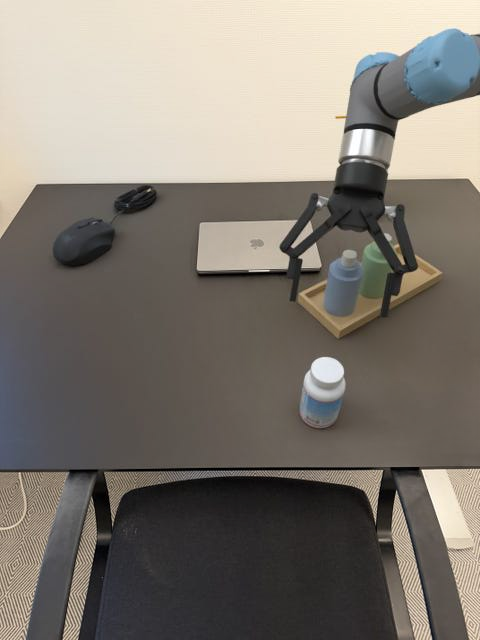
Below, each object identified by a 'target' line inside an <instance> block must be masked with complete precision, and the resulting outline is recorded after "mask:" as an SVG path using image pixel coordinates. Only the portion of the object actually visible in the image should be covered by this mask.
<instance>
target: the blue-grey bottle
mask: <svg viewBox="0 0 480 640" xmlns="http://www.w3.org/2000/svg"><path fill="white" fill-rule="evenodd" d="M357 258H358V253H357V252H356V251H355V250H353V249H345V250H344V251H342V255H341V256H340V257H338V258H337V259H336V260H334V261H332V262H331V263H330V264H329V268H328V272H327V278H326V280H327V284H326V289H325V295H324V300H323V307H324V309H325V310H326V311H327V312H328V313H329V314H331V315H333V316H337V317H345V316H348V315H350V314H352V313H353V311H354V309H355V305H356V301H357V297H358V293H359V289H360V286H361V282H362V278H363V274H364V270H363V268H362V266H361V265H360V264H359V263H360V261H359V260H358V259H357Z"/></svg>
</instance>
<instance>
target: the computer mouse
mask: <svg viewBox="0 0 480 640" xmlns="http://www.w3.org/2000/svg"><path fill="white" fill-rule="evenodd" d="M157 195H158V192H157V190H156V188H155V187H154V186H153V185H150V184H144V185H143V184H142V185H140V186H138V187H136V188H134V189H131V190H128V191H126V192H124V193H123V194H121V195H118V196H117V197H116V198H115V199H114V202H113V208H115V210H116V211H117V213H116V214H115V215H114V216H113V218H112V219H111V220H110V222H108V221H103V219H102V218H96V217H89V218H85V219H81V220H77V221H76V222H74V223H72V224H71V225H69V226H68V227H66V228H65V229H64V230H62V231H60V233H59V234H57V236H56V238H55V240H54V242H53V245H52V253H53V254H52V255H53V257H54V258H55V260H56V261H57V262H59V263H61V264H63V265H67V266H81V265H84V264H85V265H86V264H88V263H90V262H93V261H94V260H96V259H97V258H99V257H100V256H102V255H103V254H105V253H106V252H107V251H108V250H109V249H110V248H112V246H113V240H114V238H115V231H116V229H115V227H114V226H113V225H111V224H112V223H113V222H114V221H115V219H117V217H118V216H119V215H121V214H122V213H124V212H126V211H131V210H135V209H136V210H137V209H140V208H145V207H147V206H149V205H150V204H152V203H153V202H154V203H155V201H156V199H157Z"/></svg>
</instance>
